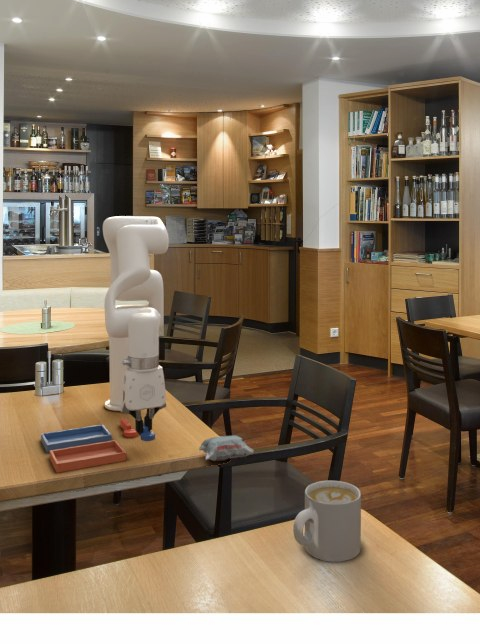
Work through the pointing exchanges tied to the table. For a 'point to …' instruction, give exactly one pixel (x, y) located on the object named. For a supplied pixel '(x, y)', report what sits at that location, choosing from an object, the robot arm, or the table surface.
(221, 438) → the packaged food
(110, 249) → the robot arm
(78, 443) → the blue tray
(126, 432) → the red spoon
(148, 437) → the blue spoon
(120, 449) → the red tray
